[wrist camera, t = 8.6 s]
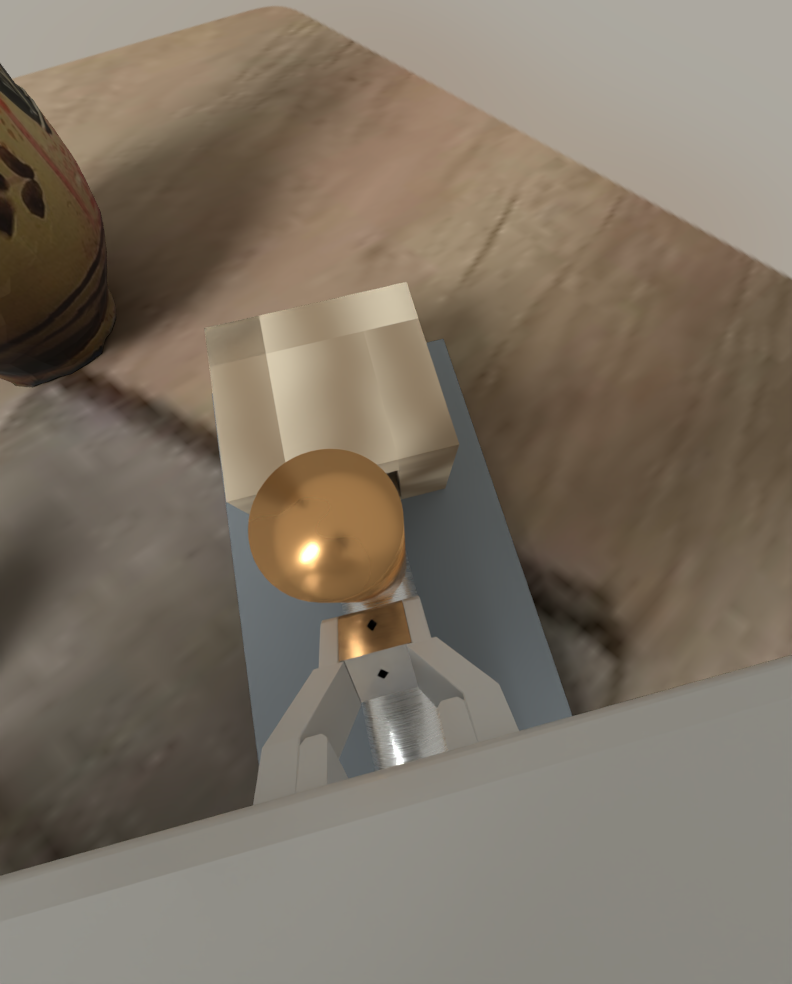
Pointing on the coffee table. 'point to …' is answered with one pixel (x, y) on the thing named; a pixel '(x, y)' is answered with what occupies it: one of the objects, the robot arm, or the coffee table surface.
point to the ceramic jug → (46, 250)
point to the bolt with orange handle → (345, 569)
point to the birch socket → (330, 392)
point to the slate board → (439, 583)
